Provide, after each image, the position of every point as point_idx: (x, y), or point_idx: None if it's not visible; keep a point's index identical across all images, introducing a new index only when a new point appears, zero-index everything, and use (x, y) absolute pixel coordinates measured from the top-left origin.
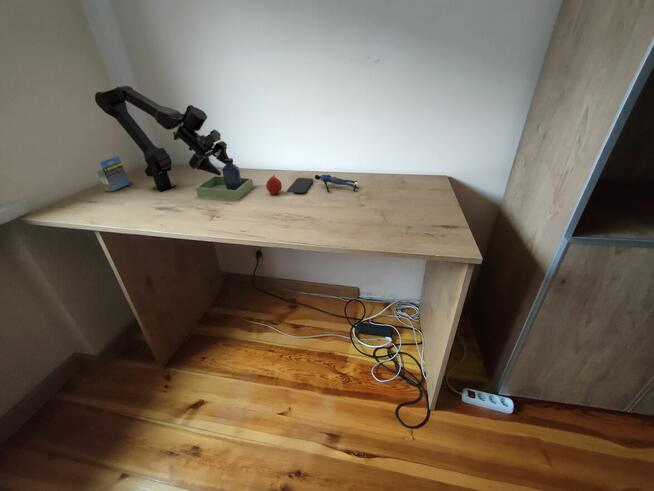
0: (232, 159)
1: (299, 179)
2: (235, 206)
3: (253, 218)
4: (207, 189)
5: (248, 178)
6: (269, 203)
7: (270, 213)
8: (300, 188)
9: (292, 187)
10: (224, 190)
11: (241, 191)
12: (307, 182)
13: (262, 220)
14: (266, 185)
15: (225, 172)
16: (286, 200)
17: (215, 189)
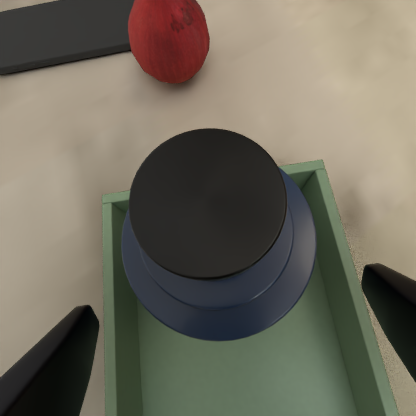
0: (187, 132)
1: (6, 54)
2: (358, 161)
3: (408, 35)
4: (390, 397)
5: (106, 215)
6: (263, 55)
7: (339, 9)
8: (105, 9)
9: (101, 38)
10: (345, 241)
11: None
12: (37, 15)
13: (401, 3)
14: (193, 50)
15: (313, 236)
16: (213, 18)
17: (369, 316)
